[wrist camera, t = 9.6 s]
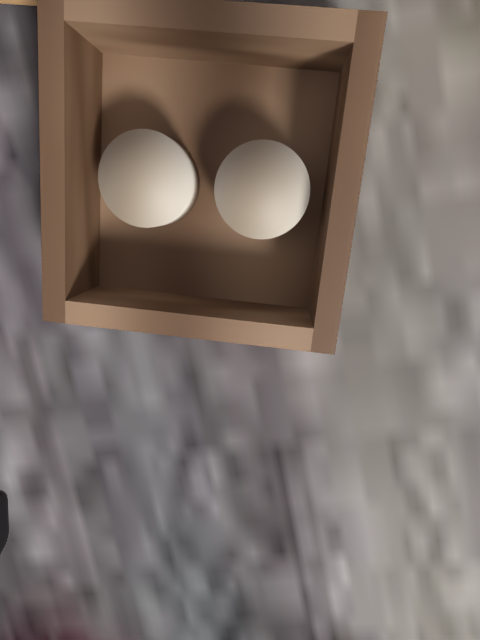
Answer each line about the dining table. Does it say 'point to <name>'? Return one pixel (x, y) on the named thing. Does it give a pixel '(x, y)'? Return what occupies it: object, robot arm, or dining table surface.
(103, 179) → the walnut box
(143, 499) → the dining table surface
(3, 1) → the lid
